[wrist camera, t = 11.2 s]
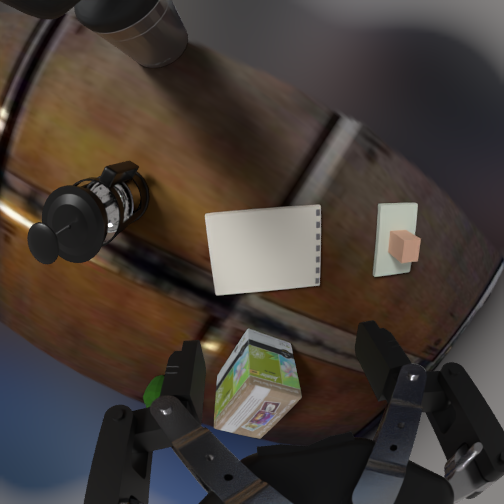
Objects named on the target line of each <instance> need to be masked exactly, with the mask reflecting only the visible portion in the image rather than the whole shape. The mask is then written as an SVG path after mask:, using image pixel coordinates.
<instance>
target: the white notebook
mask: <svg viewBox="0 0 504 504" xmlns="http://www.w3.org/2000/svg"><path fill="white" fill-rule="evenodd" d="M205 221H206V229H207V237H208V244H209V252H210V259H211V266H212V273H213V280H214V286H215V293H216V295H226V294H238V293H250V292H261V291H271V290H281V289H291V288H300V287H310V286H318V285H320V260H321V206H320V205H302V206H287V207H273V208H261V209H249V210H237V211H226V212H216V213H206V214H205Z"/></svg>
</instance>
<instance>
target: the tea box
mask: <svg viewBox="0 0 504 504" xmlns="http://www.w3.org/2000/svg"><path fill="white" fill-rule="evenodd" d="M301 398H302V395H301V390H300V385H299V380H298V375H297V370H296V365H295V361H294V357H293V351H292V347H291V343H289V342H286V341H283V340H280V339H277V338H274V337H271V336H269V335H266V334H263V333H260V332H257V331H254V330H251V329H249V328H248V329H247V331H246V332H245V334H244V335H243V336H242V338H241V340H240V341H239V343H238V344H237V346H236V347H235V349H234V351H233V352H232V354H231V355H230V357H229V358H228V360H227V362H226V363H225V365H224V366H223V368H222V369H221V371H220V373H219V374H218V376H217V388H216V402H215V415H214V428H215V429H219V430H223V431H227V432H231V433H236V434H240V435H245V436H250V437H255V438H261V437H262V436H264V435H265V434H266V433H267V432H268V431H269V430H270V429H271V428H272V427H273V426H274V425H275V424H276V423H277V422H278V421H279V420H280V419H281V418H282V417H283V416H284V415H285V414H286V413H287V412H288V411H289V410H290V409H291V408H292V407H293V406H294V405H295V404H296V403H297V402H298V401H299V400H300V399H301Z"/></svg>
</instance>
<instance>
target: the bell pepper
mask: <svg viewBox="0 0 504 504" xmlns="http://www.w3.org/2000/svg"><path fill="white" fill-rule="evenodd" d="M163 380H164V376H163V375H160V376H156V377H155V378H154V379H153V380H152V381H151V382H150V384H149V385H148V387H147V388H146V390H145V393H144V396H143V398H144V403H145V404H146V408H148V407H150V406H151V404H152V402H153V401H154V400H155V399H157V398H158V397H159V396H160V392H161V388H162V384H163Z"/></svg>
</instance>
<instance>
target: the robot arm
mask: <svg viewBox="0 0 504 504" xmlns="http://www.w3.org/2000/svg"><path fill="white" fill-rule="evenodd" d="M0 1H1V2H3V3H5V4H7V5H9V6H11V7H13V8H15V9H17V10H19V11H21V12H23V13H26V14H28V15H31V16H34V17H37V18H41V19H55V18H58V17H60V16H62V15H64V14H65V13H66V12H68V11H69V10H70V9H71V8H73V7H74V8H75V14H76V17H77V19H78V20H79V21H80V23H82V24H83V25H84V26H86V27H87V28H89V29H90V30H92V31H94V32H95V33H97V34H98V35H99V36H101V37H102V38H104V39H106V40H107V41H108V42H110V43H111V44H113V45H114V46H115V47H117V48H118V49H120V50H121V51H122V52H124V53H125V54H127V55H128V56H129V57H131V58H132V59H133V60H135V61H136V62H137V63H139V64H140V65H142V66H145V67H148V68H158V67H163V66H166V65H168V64H170V63H172V62H173V61H175V60H176V59H177V58H178V57H179V56H180V55H181V54H182V53H183V51H184V50H185V48H186V46H187V42H188V34H187V31H186V29H185V27H184V25H183V22H182V20H181V18H180V16H179V14H178V12H177V10H176V8H175V5H174V3H173V1H172V0H0ZM355 353H356V356H357V358H358V360H359V362H360V364H361V366H362V368H363V370H364V372H365V374H366V377H367V379H368V381H369V383H370V385H371V387H372V389H373V391H374V393H375V395H376V397H377V399H378V401H382V400H387V402H388V404H387V406H386V409H385V412H384V414H383V417H382V420H381V422H380V425H379V428H378V430H377V432H376V435H375V437H374V439H373V441H372V440H369V439H366V438H358V437H353V434H352V432H348V433H344V434H339V435H334V436H330V437H327V438H325V439H323V440H320V441H318V442H316V443H313V444H311V445H308V446H297V445H282V444H280V445H271V446H261V447H257V453H255V454H252V455H250V456H247V457H246V458H243V459H242V460H240V461H239V460H238V459H237V458H236V457H235V456H234V455H233V454H232V453H231V452H230V451H229V450H228V449H227V448H226V447H225V446H224V445H223V444H222V443H221V442H220V441H219V440H218V439H217V438H216V437H215V436H214V435H213V434H212V432H210V430H208V429H207V428H206V427H205V428H203V427H202V426H201V422H202V410H203V398H204V387H205V376H206V367H205V361H204V357H203V353H202V349H201V344H200V341H199V340H192V341H184V342H183V347H182V351H174V353H173V354H172V355H171V356H170V357H169V360H168V364H167V368H166V372H165V376H164V380H163V384H162V388H161V392H160V396H159V397H158V398H157V399H155V400H154V401H153V402H152V404H151V406H150V407H148V408H144V409H139V410H135V411H131V409H130V408H129V407H127V406H125V405H115V406H113V407H111V408H109V409H108V410H107V411H106V413H105V415H104V419H103V422H102V426H101V429H100V433H99V437H98V441H97V445H96V449H95V453H94V457H93V461H92V465H91V470H90V475H89V479H88V484H87V489H86V494H85V499H84V504H148V498H149V484H150V474H151V464H152V453H153V451H154V450H158V449H163V448H168V447H172V449H173V450H174V452H175V453H176V454H177V456H178V457H179V458H180V460H181V461H182V462H183V463H184V465H185V466H186V467H187V468H188V470H189V471H190V472H191V473H192V475H193V476H194V477H195V478H196V480H197V481H198V482H199V483H200V484H201V486H202V487H203V488H204V489H205V490H206V491H207V492H208V494H207V496H206V497H205V498H204V499H203V500H202V501H201V502H200V503H199V504H455V503H457V502H459V501H460V500H462V499H464V498H467V499H471V498H474V497H476V496H477V495H479V494H480V493H481V492H483V491H484V490H485V489H487V488H488V487H489V486H491V485H492V484H493V483H495V482H496V481H497V480H498V479H499V478H501V477H502V476H503V475H504V431H503V429H502V427H501V425H500V424H499V422H498V420H497V419H496V417H495V415H494V414H493V412H492V410H491V409H490V407H489V405H488V404H487V402H486V401H485V399H484V398H483V396H482V394H481V393H480V391H479V390H478V388H477V387H476V385H475V384H474V382H473V381H472V379H471V378H470V376H469V375H468V374H467V372H466V371H465V369H464V368H463V367H462V366H461V365H459V364H457V363H454V362H450V363H446V364H445V365H443V367H442V369H441V371H426V370H425V369H424V368H423V367H422V366H420V365H418V364H412V363H411V361H410V360H409V358H408V357H407V355H406V354H405V352H404V351H403V349H402V348H401V347H400V346H399V344H398V342H397V341H396V339H395V338H394V336H393V335H392V334H391V333H390V332H389V331H387V330H386V329H384V328H381V329H380V328H379V327H378V325H377V324H376V322H375V321H374V320H372V321H366V322H361V323H359V325H358V331H357V337H356V343H355ZM422 412H425V413H426V415H427V417H428V419H429V421H430V423H431V425H432V427H433V429H434V432H435V434H436V436H437V438H438V440H439V442H440V445H441V447H442V449H443V452H444V454H445V456H446V459H447V463H446V464H445V467H444V472H445V475H444V477H442V476H440V475H438V474H436V473H434V472H432V471H430V470H428V469H426V468H424V467H422V466H420V465H418V464H416V463H414V462H412V461H410V460H409V457H410V454H411V451H412V448H413V444H414V441H415V438H416V434H417V430H418V426H419V423H420V418H421V415H422Z"/></svg>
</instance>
